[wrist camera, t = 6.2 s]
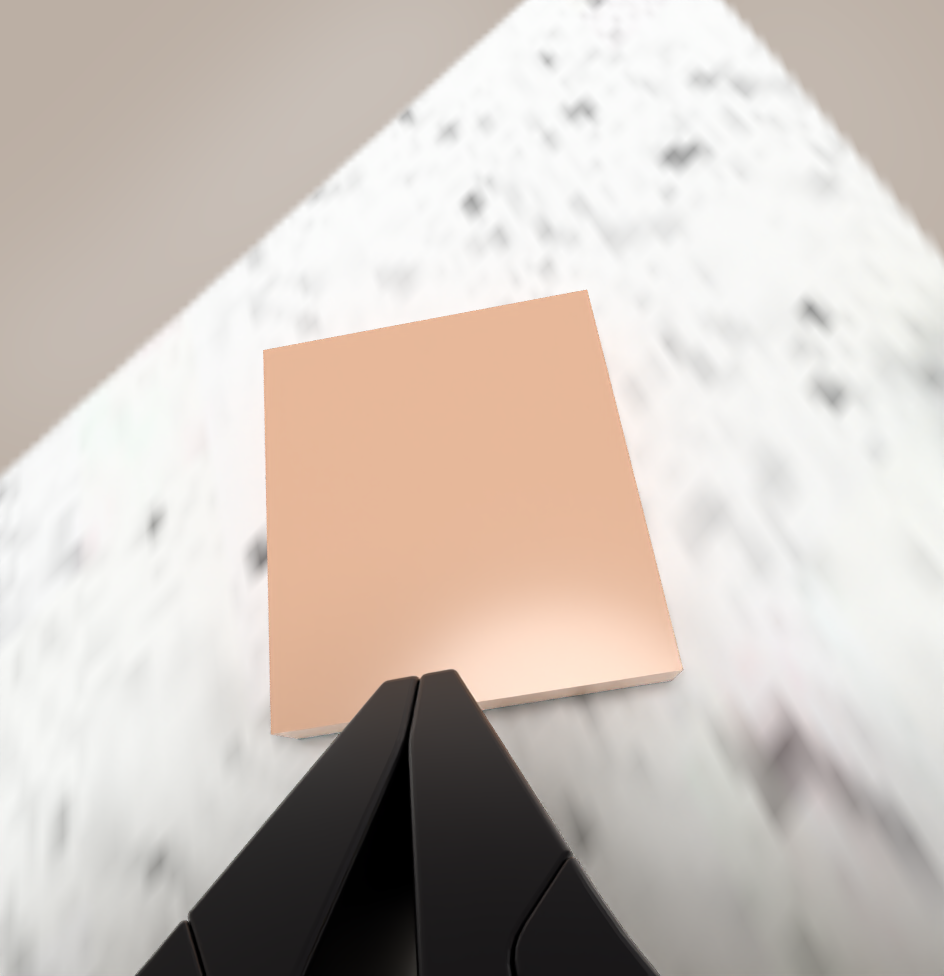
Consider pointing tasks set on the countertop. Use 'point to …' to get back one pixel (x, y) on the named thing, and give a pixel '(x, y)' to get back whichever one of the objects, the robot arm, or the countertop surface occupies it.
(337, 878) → the robot arm
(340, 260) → the countertop surface
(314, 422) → the tile
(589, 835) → the countertop surface
